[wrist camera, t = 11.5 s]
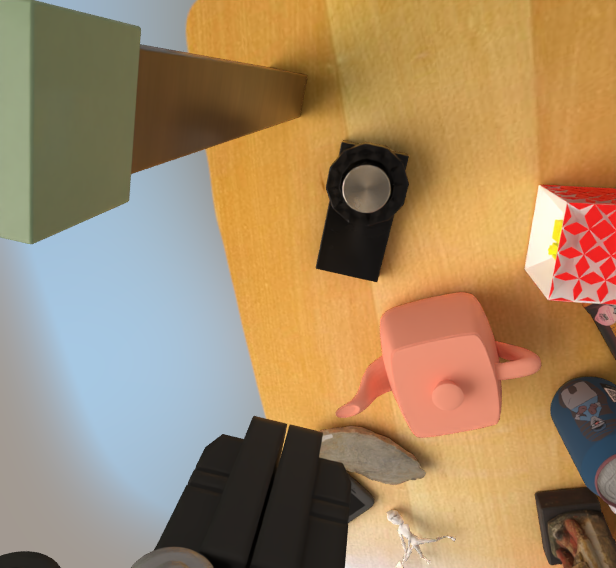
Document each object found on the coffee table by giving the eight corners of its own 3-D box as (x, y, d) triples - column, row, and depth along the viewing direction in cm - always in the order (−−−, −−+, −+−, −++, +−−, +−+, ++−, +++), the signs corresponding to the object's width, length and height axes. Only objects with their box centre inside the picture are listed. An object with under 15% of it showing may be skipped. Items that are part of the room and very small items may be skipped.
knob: (349, 157, 46) (347, 160, 45) (395, 167, 46) (395, 170, 44) (339, 202, 48) (337, 207, 46) (384, 212, 48) (384, 217, 46)
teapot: (531, 375, 54) (563, 438, 45) (357, 409, 58) (352, 473, 49) (509, 271, 51) (538, 314, 41) (327, 314, 55) (314, 362, 45)
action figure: (403, 627, 62) (350, 612, 60) (390, 585, 67) (340, 571, 65) (463, 554, 59) (409, 535, 57) (444, 516, 64) (394, 498, 62)
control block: (339, 134, 49) (335, 137, 46) (414, 149, 48) (416, 154, 45) (313, 262, 53) (308, 273, 50) (381, 277, 53) (381, 290, 50)
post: (267, 67, 48) (-9, 17, 14) (307, 75, 48) (122, 44, 14) (261, 109, 49) (-6, 154, 16) (300, 117, 49) (114, 181, 15)
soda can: (597, 440, 56) (650, 528, 44) (534, 415, 56) (571, 498, 44) (634, 386, 53) (701, 465, 42) (568, 360, 53) (617, 433, 42)
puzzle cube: (539, 184, 48) (567, 202, 41) (633, 188, 47) (679, 207, 40) (524, 270, 51) (548, 301, 43) (613, 275, 50) (653, 308, 42)
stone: (300, 462, 57) (316, 426, 56) (301, 445, 60) (316, 410, 58) (415, 494, 59) (435, 460, 57) (411, 476, 62) (429, 443, 60)
